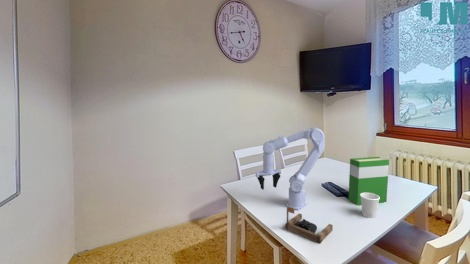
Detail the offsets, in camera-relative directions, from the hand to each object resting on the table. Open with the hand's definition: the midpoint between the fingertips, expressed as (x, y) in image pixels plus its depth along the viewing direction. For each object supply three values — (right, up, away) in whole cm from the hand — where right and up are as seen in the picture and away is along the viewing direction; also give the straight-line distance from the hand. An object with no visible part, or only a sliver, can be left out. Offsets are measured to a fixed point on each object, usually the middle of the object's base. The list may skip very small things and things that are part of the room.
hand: (268, 187), depth 126 cm
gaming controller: (+13, -13, -24) cm, 31 cm away
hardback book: (+55, -8, +2) cm, 56 cm away
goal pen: (+14, -12, -25) cm, 31 cm away
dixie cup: (+47, -10, -13) cm, 50 cm away
